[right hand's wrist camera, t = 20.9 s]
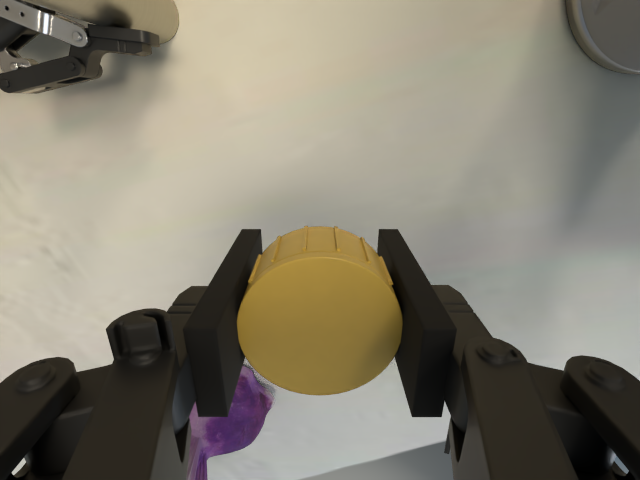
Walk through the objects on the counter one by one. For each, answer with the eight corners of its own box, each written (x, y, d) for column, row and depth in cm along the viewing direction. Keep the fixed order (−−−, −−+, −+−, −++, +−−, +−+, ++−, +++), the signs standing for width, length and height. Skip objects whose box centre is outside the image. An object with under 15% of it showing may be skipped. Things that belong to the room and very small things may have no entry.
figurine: (170, 391, 43) (99, 529, 30) (222, 344, 41) (170, 472, 27) (228, 430, 46) (188, 574, 32) (281, 388, 43) (262, 526, 29)
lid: (231, 320, 13) (213, 367, 10) (279, 201, 11) (270, 227, 9) (352, 362, 13) (359, 415, 11) (414, 256, 12) (436, 294, 10)
